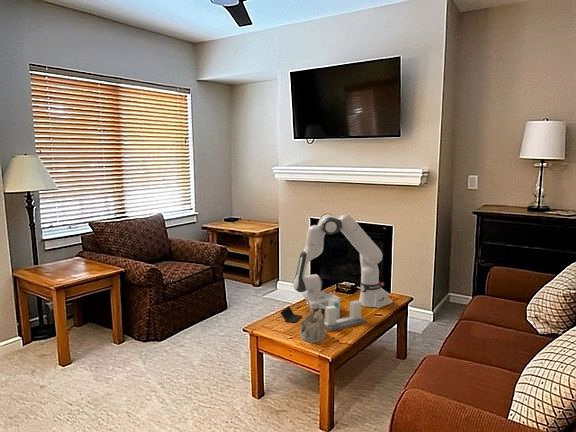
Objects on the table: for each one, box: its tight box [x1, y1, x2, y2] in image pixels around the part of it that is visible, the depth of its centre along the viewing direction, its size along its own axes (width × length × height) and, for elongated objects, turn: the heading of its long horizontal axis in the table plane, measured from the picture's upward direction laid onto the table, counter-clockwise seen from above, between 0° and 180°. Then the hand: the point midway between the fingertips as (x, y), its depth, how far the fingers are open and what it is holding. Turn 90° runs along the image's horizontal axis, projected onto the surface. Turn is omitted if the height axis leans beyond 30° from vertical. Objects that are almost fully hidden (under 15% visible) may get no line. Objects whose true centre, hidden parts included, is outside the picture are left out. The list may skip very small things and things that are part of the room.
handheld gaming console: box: [280, 306, 303, 324], centre depth 254 cm, size 12×7×10 cm
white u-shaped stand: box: [324, 299, 367, 332], centre depth 245 cm, size 25×10×12 cm, turn 118°
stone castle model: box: [299, 308, 327, 344], centre depth 230 cm, size 16×16×15 cm
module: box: [328, 297, 341, 319], centre depth 255 cm, size 4×6×11 cm
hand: (331, 306), depth 257 cm, fingers open, 8 cm apart
